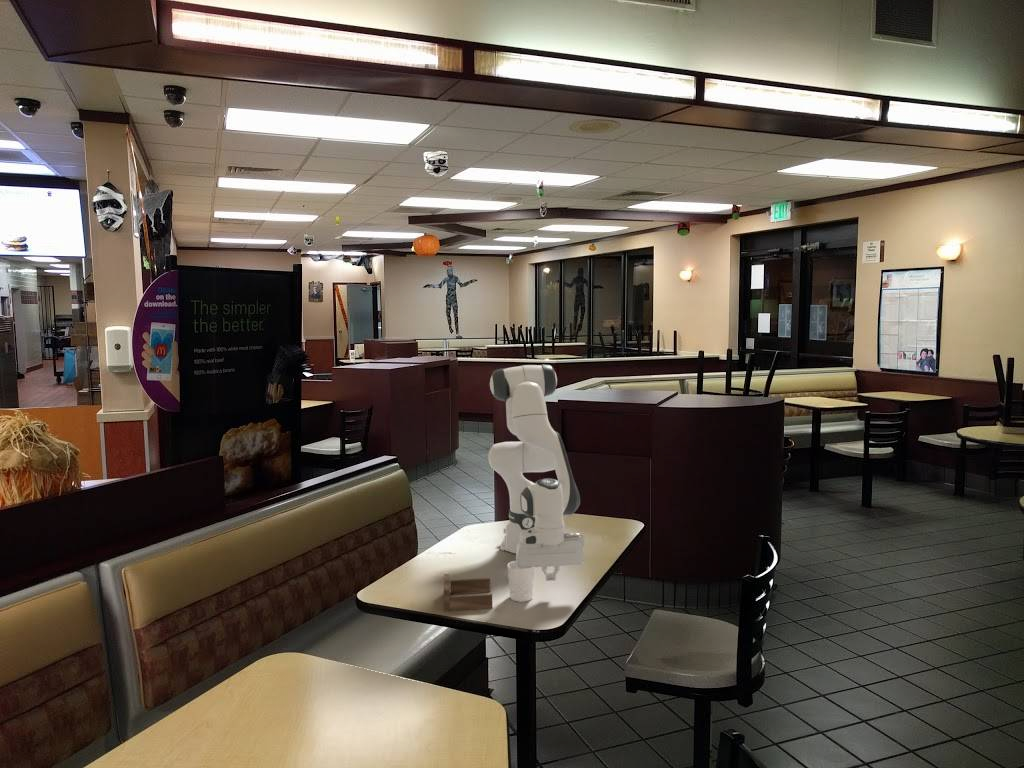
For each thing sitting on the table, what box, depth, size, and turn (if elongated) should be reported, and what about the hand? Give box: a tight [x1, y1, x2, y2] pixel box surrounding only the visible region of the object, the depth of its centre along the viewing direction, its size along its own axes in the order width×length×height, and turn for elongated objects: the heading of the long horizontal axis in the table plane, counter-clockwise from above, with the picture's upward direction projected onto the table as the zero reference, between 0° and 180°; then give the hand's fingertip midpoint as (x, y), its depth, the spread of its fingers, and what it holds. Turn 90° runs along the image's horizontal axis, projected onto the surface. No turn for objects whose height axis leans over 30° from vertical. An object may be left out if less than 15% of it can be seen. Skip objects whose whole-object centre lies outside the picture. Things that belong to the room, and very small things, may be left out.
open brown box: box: [443, 573, 494, 612], centre depth 199 cm, size 13×14×6 cm
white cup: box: [506, 560, 535, 603], centre depth 200 cm, size 8×8×10 cm
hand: (550, 580), depth 201 cm, fingers closed
